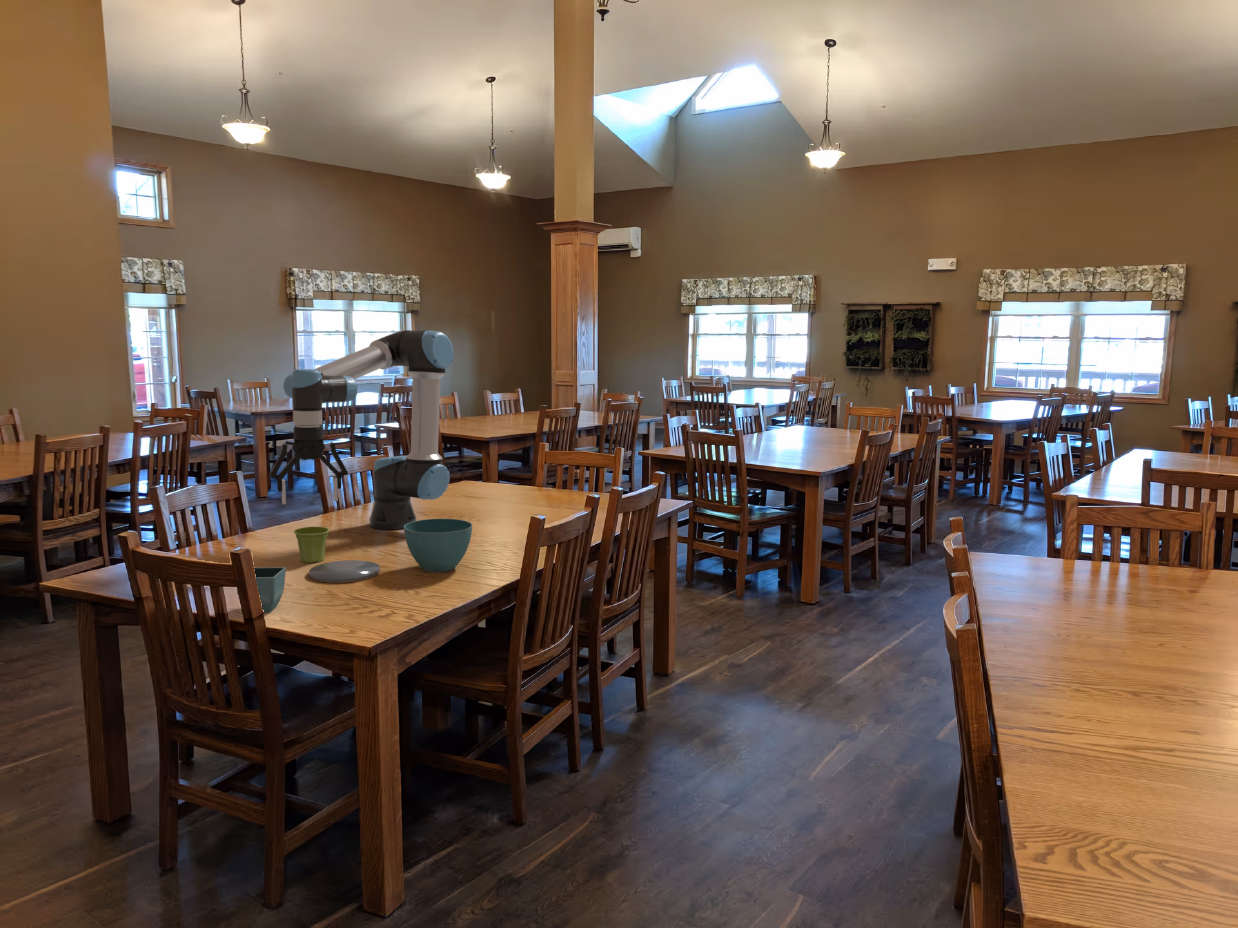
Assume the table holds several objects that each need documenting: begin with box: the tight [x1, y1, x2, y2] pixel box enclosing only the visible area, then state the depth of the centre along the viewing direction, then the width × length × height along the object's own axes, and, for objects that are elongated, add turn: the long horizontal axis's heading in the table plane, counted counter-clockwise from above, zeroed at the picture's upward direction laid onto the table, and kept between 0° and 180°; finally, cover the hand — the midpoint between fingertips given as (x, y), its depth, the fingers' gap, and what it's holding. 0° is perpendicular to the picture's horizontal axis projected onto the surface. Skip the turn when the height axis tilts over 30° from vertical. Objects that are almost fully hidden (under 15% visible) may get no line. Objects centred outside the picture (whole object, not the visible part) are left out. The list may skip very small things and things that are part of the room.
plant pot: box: [293, 526, 330, 564], centre depth 234 cm, size 9×9×9 cm
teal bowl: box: [403, 518, 473, 574], centre depth 228 cm, size 18×18×12 cm
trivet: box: [308, 559, 381, 584], centre depth 222 cm, size 18×18×1 cm
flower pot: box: [236, 566, 287, 613], centre depth 191 cm, size 9×9×9 cm
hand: (310, 501), depth 232 cm, fingers open, 13 cm apart
